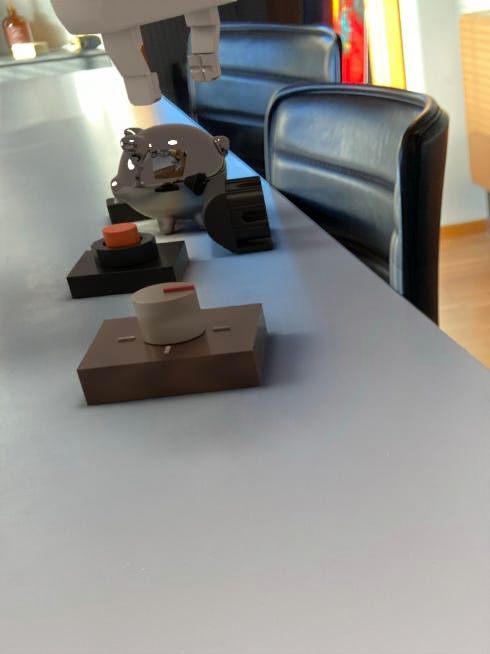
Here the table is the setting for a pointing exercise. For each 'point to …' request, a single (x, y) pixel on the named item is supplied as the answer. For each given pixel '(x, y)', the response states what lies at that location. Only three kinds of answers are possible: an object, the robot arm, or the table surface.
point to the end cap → (236, 214)
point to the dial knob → (168, 313)
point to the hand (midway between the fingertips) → (178, 91)
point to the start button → (121, 234)
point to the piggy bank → (168, 171)
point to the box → (127, 267)
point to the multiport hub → (122, 212)
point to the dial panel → (175, 358)
